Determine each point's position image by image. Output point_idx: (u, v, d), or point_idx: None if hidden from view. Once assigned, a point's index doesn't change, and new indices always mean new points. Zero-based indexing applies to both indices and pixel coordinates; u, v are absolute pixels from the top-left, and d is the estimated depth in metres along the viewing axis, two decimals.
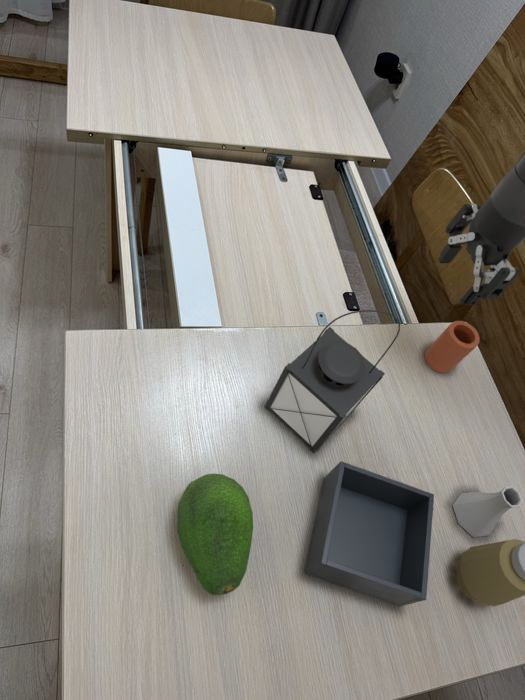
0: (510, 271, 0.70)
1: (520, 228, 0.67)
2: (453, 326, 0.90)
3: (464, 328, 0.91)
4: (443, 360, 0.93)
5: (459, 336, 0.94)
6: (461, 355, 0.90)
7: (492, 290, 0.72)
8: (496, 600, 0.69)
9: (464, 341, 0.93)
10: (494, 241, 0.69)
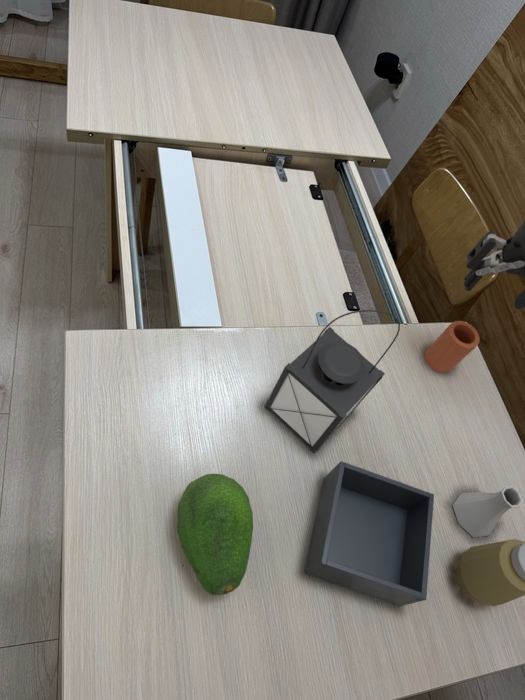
0: None
1: None
2: (453, 326, 0.90)
3: (464, 328, 0.91)
4: (443, 360, 0.93)
5: (459, 336, 0.94)
6: (461, 355, 0.90)
7: None
8: (496, 600, 0.69)
9: (464, 341, 0.93)
10: None
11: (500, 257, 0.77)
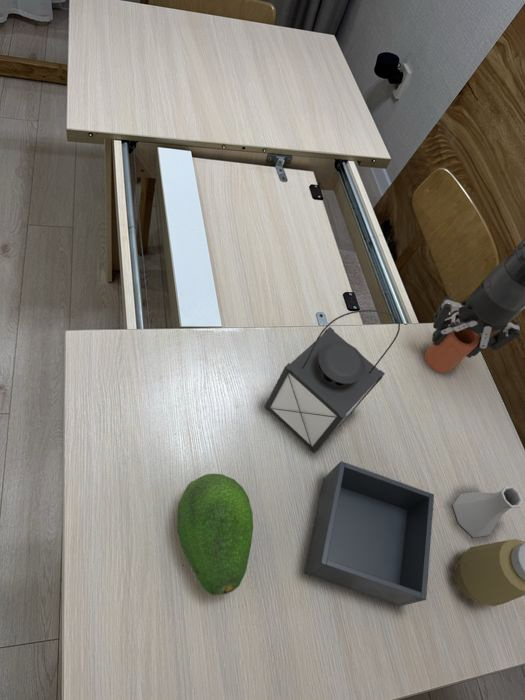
0: None
1: None
2: None
3: None
4: (443, 360, 0.93)
5: (459, 336, 0.94)
6: (461, 355, 0.90)
7: (504, 344, 0.88)
8: (496, 600, 0.69)
9: (464, 341, 0.93)
10: (508, 322, 0.82)
11: None
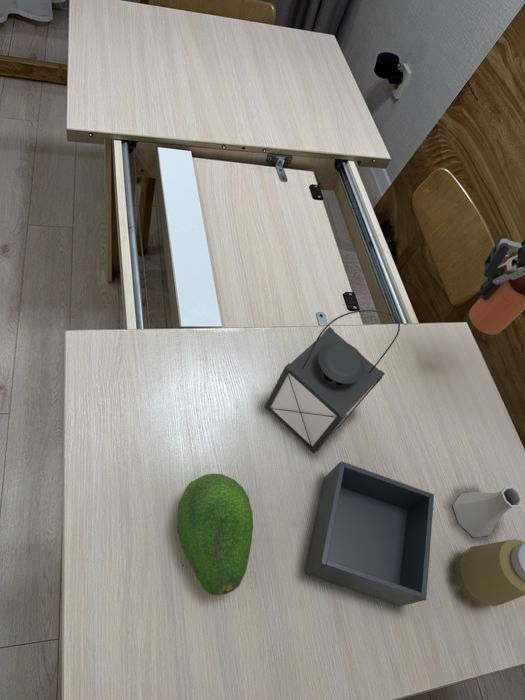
0: None
1: None
2: None
3: (520, 278, 0.76)
4: (493, 317, 0.77)
5: None
6: (516, 311, 0.75)
7: None
8: (496, 600, 0.69)
9: None
10: None
11: (517, 262, 0.73)
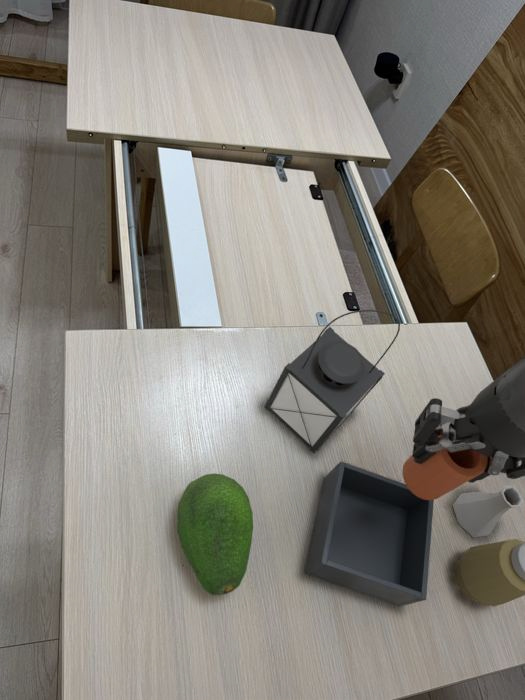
0: None
1: None
2: None
3: None
4: (430, 486, 0.59)
5: None
6: (458, 484, 0.57)
7: None
8: (496, 600, 0.69)
9: (463, 455, 0.60)
10: None
11: None
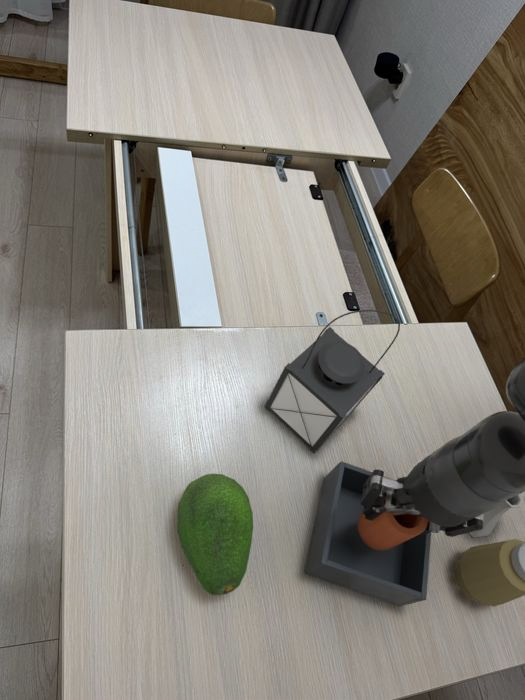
0: (482, 520, 0.58)
1: None
2: None
3: None
4: (379, 541, 0.65)
5: None
6: (403, 540, 0.63)
7: (462, 532, 0.60)
8: (496, 600, 0.69)
9: None
10: None
11: None
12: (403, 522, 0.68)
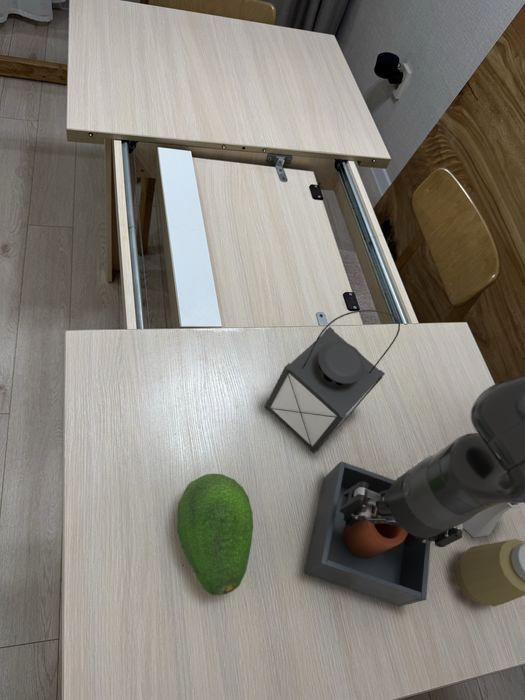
0: (461, 529, 0.61)
1: None
2: None
3: None
4: (363, 549, 0.70)
5: None
6: (384, 549, 0.68)
7: None
8: (496, 600, 0.69)
9: None
10: None
11: None
12: (385, 531, 0.73)
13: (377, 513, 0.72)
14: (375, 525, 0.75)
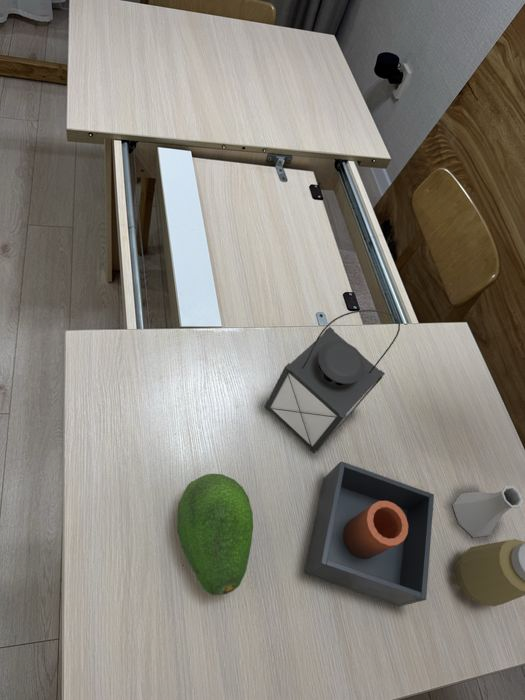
0: None
1: None
2: (373, 511, 0.68)
3: (389, 510, 0.69)
4: (363, 549, 0.70)
5: (385, 515, 0.71)
6: (384, 549, 0.68)
7: None
8: (496, 600, 0.69)
9: (391, 522, 0.71)
10: None
11: None
12: (385, 531, 0.73)
13: (377, 513, 0.72)
14: (375, 525, 0.75)
